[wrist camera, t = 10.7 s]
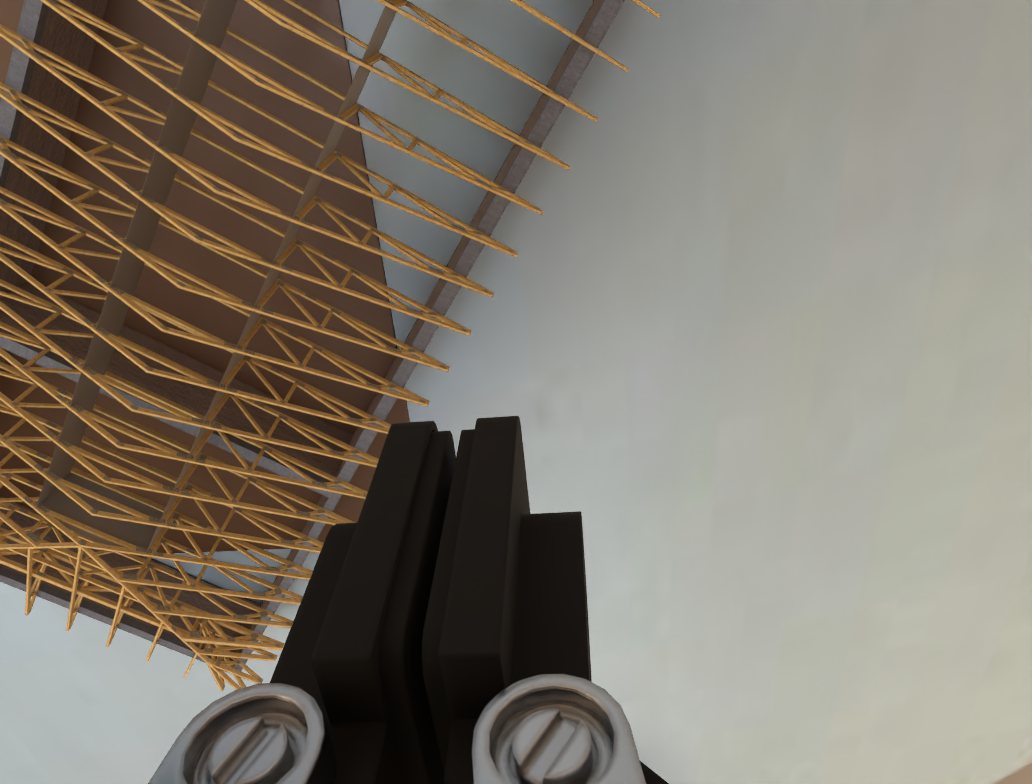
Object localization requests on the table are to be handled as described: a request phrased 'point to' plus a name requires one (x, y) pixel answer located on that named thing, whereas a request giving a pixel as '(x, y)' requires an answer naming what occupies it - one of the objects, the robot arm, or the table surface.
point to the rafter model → (179, 378)
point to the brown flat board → (126, 13)
